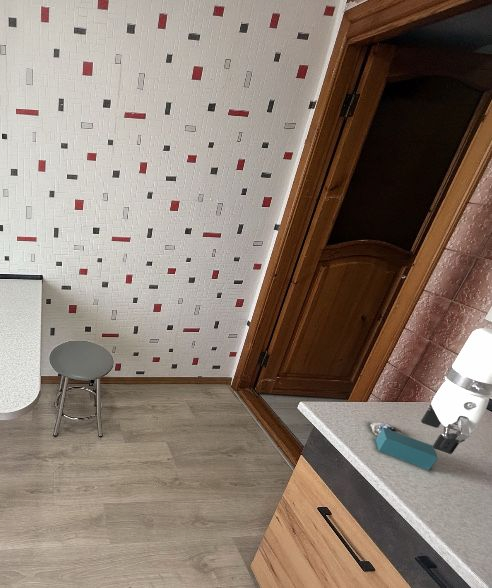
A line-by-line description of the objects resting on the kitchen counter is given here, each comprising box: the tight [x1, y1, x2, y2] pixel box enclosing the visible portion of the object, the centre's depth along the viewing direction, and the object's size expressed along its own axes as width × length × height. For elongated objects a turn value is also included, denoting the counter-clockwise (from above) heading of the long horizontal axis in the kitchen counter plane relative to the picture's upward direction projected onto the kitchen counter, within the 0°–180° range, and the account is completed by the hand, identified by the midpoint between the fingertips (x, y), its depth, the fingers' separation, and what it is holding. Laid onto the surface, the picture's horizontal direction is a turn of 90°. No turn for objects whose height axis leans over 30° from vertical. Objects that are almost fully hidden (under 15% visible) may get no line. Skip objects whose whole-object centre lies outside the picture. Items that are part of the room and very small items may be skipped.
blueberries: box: [370, 421, 402, 437], centre depth 93 cm, size 7×8×2 cm
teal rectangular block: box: [375, 428, 439, 471], centre depth 85 cm, size 10×4×4 cm, turn 58°
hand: (435, 437), depth 81 cm, fingers open, 9 cm apart
